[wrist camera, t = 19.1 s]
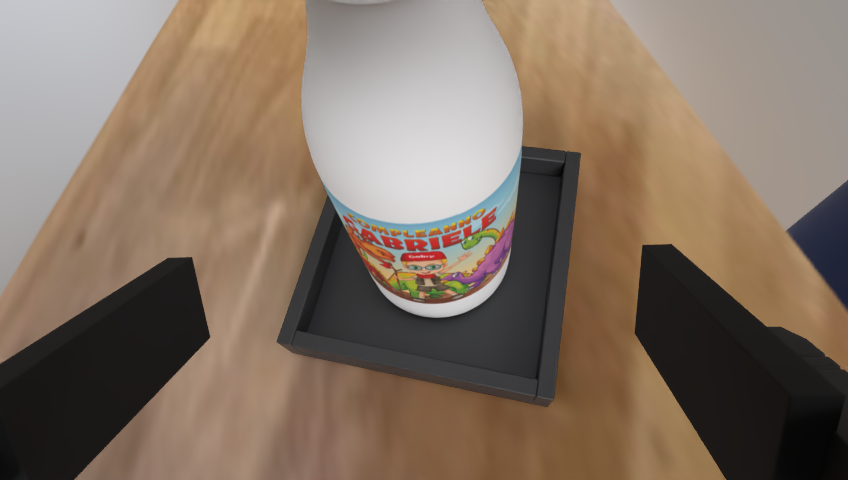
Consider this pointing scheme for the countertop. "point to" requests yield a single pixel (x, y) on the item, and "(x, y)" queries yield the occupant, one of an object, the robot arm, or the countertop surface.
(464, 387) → the dock tray
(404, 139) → the milk bottle
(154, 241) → the countertop surface
